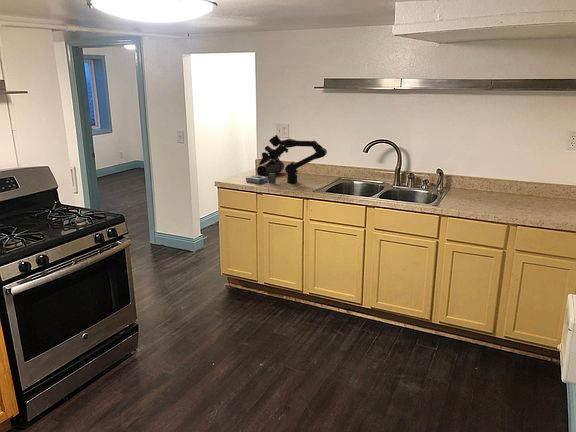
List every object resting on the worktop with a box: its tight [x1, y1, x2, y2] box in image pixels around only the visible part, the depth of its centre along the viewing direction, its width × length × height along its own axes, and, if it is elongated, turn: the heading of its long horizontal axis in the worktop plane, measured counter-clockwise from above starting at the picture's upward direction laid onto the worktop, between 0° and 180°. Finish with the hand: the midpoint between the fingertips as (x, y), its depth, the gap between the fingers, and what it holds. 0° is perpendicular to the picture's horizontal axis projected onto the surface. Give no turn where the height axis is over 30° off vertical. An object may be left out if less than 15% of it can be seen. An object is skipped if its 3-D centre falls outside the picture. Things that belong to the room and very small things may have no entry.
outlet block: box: [245, 174, 269, 185], centre depth 344 cm, size 12×10×4 cm
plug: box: [268, 173, 277, 184], centre depth 339 cm, size 4×3×7 cm, turn 54°
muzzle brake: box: [256, 160, 285, 177], centre depth 369 cm, size 10×28×10 cm, turn 152°
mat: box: [262, 181, 280, 186], centre depth 340 cm, size 9×9×1 cm
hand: (262, 165), depth 345 cm, fingers open, 9 cm apart
